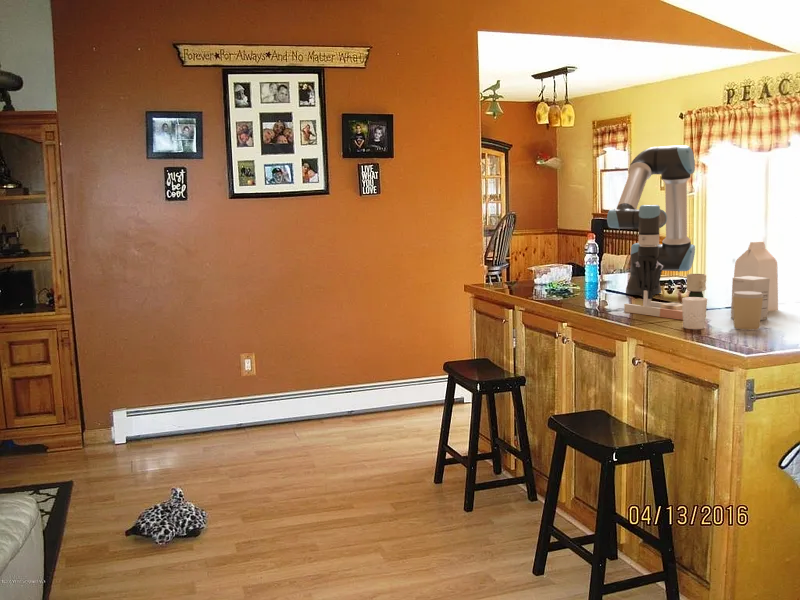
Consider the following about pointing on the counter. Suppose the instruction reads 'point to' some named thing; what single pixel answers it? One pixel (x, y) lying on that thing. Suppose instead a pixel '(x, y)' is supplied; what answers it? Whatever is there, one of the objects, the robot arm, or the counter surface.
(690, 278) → the character mug
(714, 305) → the counter surface
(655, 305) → the channel
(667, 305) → the maple block
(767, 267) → the milk
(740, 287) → the supplement box
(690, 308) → the white cup
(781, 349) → the counter surface
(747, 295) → the coffee cup
